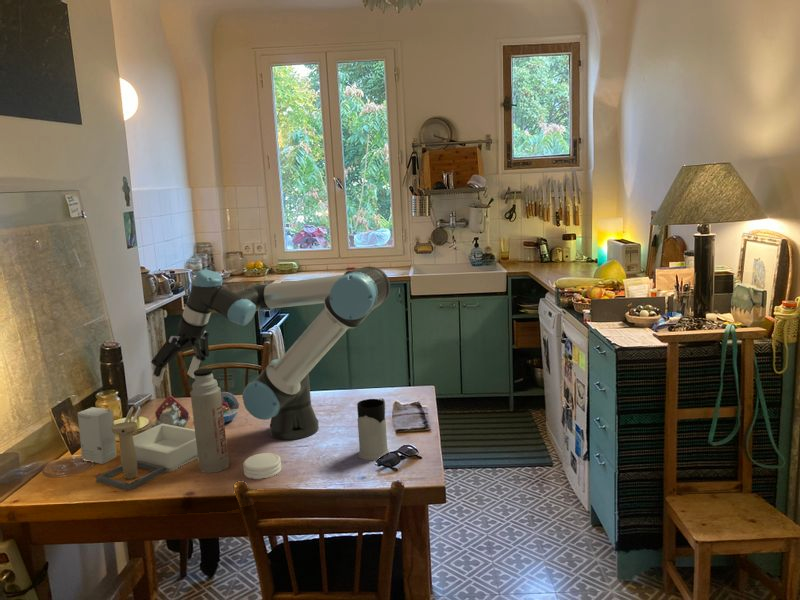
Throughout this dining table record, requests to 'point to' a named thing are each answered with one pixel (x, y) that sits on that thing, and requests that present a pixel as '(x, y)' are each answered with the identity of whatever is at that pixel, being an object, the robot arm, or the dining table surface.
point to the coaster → (262, 466)
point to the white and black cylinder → (372, 429)
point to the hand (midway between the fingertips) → (173, 380)
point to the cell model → (229, 406)
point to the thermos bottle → (209, 422)
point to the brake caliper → (171, 413)
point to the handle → (127, 447)
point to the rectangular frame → (155, 472)
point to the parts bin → (166, 446)
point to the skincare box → (97, 435)
